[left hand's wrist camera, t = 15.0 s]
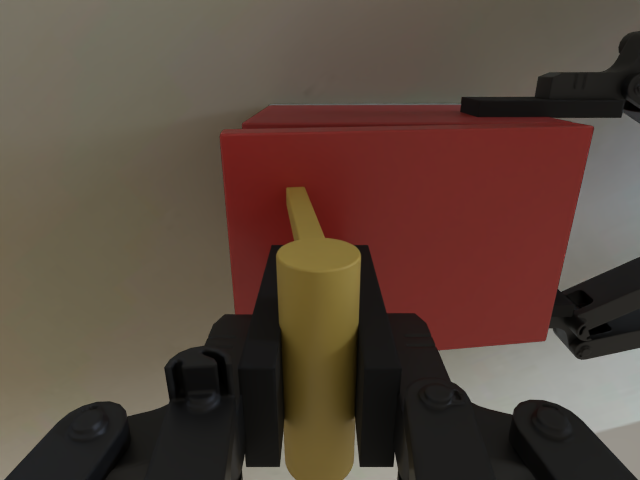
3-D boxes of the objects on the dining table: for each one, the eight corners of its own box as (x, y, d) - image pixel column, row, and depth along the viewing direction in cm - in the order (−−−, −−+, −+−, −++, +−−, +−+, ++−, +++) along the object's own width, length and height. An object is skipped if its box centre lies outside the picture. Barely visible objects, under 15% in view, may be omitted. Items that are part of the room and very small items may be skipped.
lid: (240, 350, 19) (228, 548, 11) (222, 129, 16) (184, 189, 8) (530, 326, 21) (697, 483, 13) (572, 122, 17) (839, 165, 9)
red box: (276, 245, 31) (255, 325, 21) (270, 104, 27) (240, 122, 18) (465, 245, 31) (531, 326, 21) (484, 103, 27) (574, 121, 18)
